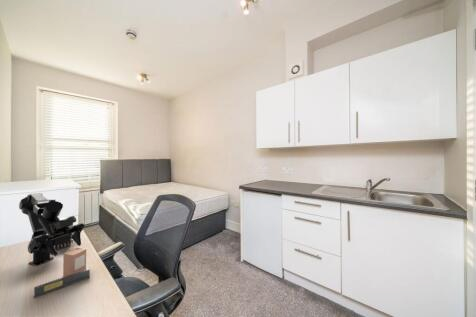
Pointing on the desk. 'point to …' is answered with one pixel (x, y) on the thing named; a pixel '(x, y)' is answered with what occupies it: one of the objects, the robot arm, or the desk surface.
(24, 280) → the desk surface
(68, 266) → the carton
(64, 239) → the battery charger
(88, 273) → the rail
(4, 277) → the desk surface
